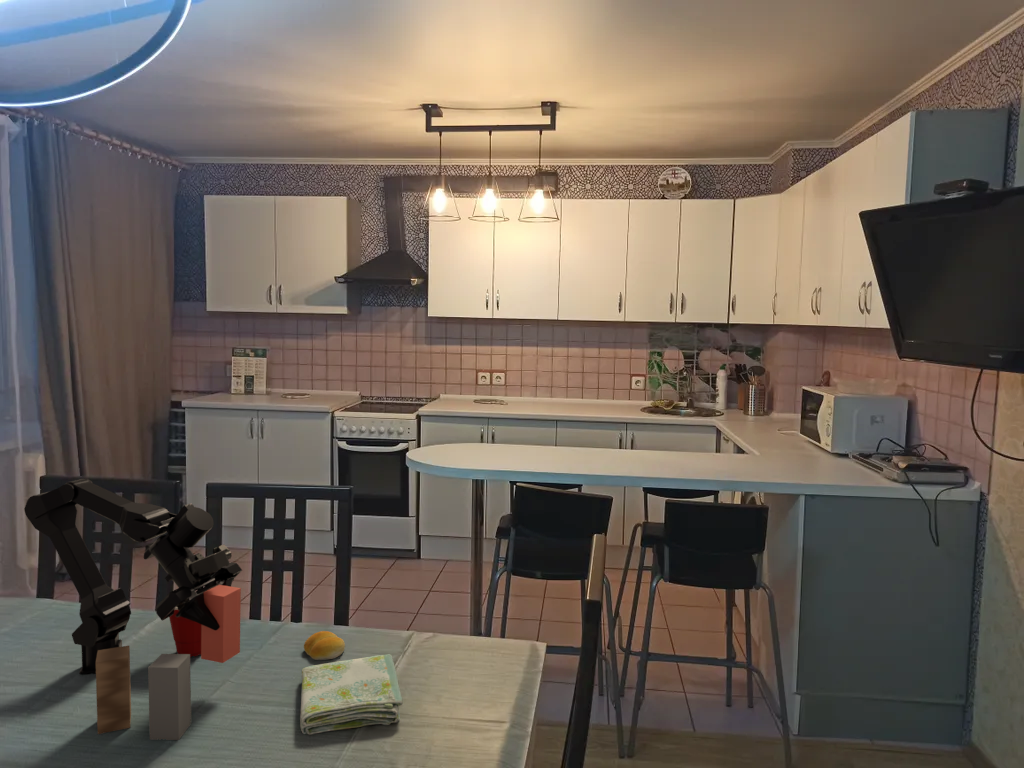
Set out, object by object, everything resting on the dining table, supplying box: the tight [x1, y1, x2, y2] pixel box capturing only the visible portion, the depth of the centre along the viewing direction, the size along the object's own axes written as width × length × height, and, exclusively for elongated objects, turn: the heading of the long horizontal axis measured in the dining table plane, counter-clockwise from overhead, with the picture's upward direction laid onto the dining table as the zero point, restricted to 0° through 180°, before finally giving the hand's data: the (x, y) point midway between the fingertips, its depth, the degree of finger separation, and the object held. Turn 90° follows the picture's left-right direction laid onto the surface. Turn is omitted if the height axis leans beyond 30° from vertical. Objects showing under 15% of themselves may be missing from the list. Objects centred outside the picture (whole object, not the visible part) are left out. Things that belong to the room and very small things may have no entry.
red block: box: [200, 585, 242, 664], centre depth 140 cm, size 5×5×13 cm
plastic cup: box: [168, 607, 202, 658], centre depth 157 cm, size 11×11×12 cm
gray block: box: [147, 653, 192, 741], centre depth 126 cm, size 5×5×13 cm
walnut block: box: [95, 645, 132, 735], centre depth 128 cm, size 5×5×13 cm
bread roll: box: [303, 630, 346, 661], centre depth 158 cm, size 8×9×4 cm
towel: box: [299, 653, 403, 735], centre depth 138 cm, size 18×21×5 cm
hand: (227, 623), depth 140 cm, fingers closed on red block, 5 cm apart
